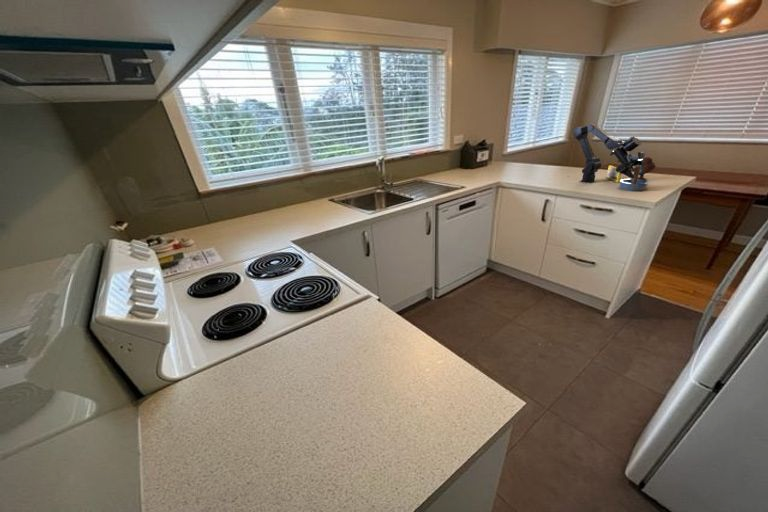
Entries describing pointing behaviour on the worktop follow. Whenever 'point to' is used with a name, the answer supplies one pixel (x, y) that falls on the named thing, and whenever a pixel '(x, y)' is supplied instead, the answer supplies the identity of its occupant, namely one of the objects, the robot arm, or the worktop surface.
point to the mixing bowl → (633, 185)
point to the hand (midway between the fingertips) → (638, 176)
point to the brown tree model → (647, 166)
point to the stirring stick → (636, 174)
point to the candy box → (613, 174)
